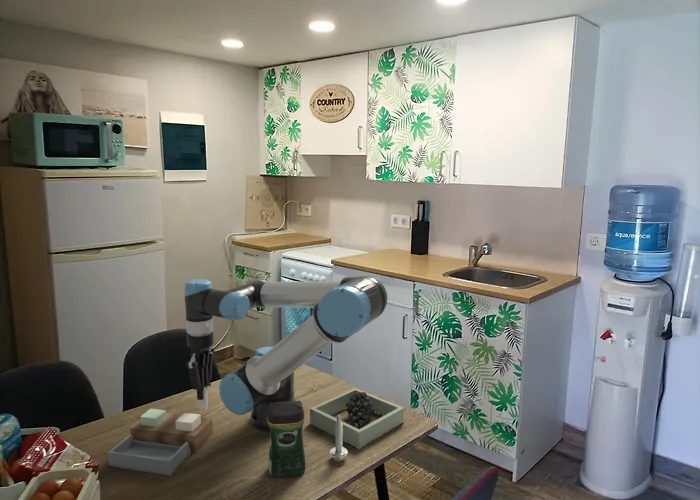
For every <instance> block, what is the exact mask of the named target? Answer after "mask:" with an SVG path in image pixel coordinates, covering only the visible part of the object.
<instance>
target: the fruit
mask: <svg viewBox="0 0 700 500" xmlns="http://www.w3.org/2000/svg"><path fill="white" fill-rule="evenodd" d="M365 392H366V391H364V392H362V393H361V392H357V393H355V396H351V397H350V401H349V402H347V403H346V406H347V407H348V408H346V412H347V424H349V425H351V426H353V427H355V428H357V429H361V428H363V427H365V426H366V425H365V423H367V422H368V420H369V419H370V417H371V415H372V414H374V412H373V409H372V408H371V407H372V403H371V402H369V401H370V399H369V397H366V396H367V395H366V393H367V392H366V393H365ZM357 400H360V402H359V401H357ZM362 426H363V427H362Z"/></svg>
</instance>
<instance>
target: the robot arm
mask: <svg viewBox="0 0 700 500" xmlns="http://www.w3.org/2000/svg"><path fill="white" fill-rule="evenodd" d="M387 305H388V293H387V290H386V287H385V286H384V285H383V283H382V282H381V281H380V280H379V279H377V278H375V277H372V276H369V275H360V276H346V277H342V278H341V279H340V280H327V281H326V280H320V281H318V280H317V281H315V280H311V281H307V280H306V281H267V280H265V279H256V280H251V282H248V283H245V284H242V285H240V286H236V287H233V288H229V289H227V290H220V289H215V288H213V285H212V282H211V281H210V280H209V279H206V278H198V279H197V278H196V279H192V280H191V279H190V280H188V281H187V282H186V283H185V284H184V307H185V327H186V333H187V334H186V346H187V347H188V348H189V349H190V350H191V351H190V352H191V353H190V358H191V359H190V361H186V363H185V365H186V368H187V371H188V375H189V376H188V377H189V380H190V385H191V389H192V390H195V391H196V402H197V403H196V404H197V405H196V406H197V409H198V410H207V409H208V408H209V396H208V387H211V385H212V383H211V381H212V378H213V377H212V374H213V365H214V364H213V363H214V354H215V348H213V347H212V346H213V345H214V332H213V331H214V318H213V317H215V318H222V319H225V320H230V321H233V320H234V321H240V320H241V321H242V320H243V319H244V318H245V316H246V315H247V314H248V313H249V311H250V310H253V309H255V308H297V309H298V308H300V309H301V308H305V309H312V315H311V316H310V317H308V318H307V319H306V320H304V322H302V323H301V324H299V326H297V327H296V328H295V329H294V330H292V331H291V332H290V333H289V334H287V335H286V336H285V337H283V338H282V339H281V340H280V341H279V342H278V343H276V344H275V345H274V346H264V347H262V346H261V347H260V348H257V349H255V351H254V356H252V357H250V358H249V359H248V360H247V361H245V362H244V363H243V364H241V365H240V366H239V367H238V368H237V369H235V370H234V371H231V372H230V373H228V374H226V375H224V377H223V378H222V379H221V381H220V382H219V386H218V389H219V396H220V400H221V401H222V404H224V406H225V407H226V408H227V410H228V411H229V412H231V413H232V414H233V413H234V414H235V415H238V416H244V415H247V413H250V412H251V413H250V425H251V426H252V428H254V429H255V430H257V431H259V432H264V433H270V428H269V426H268V423H267V416H268V409H269V405H270V403H277V402H290V401H297V400H296V397H295V371H297V370H298V369H299V368H301V367H303V365H305V364H306V363H307V362H309V361H310V360H311V359H312V358H314V357H315V356H316V355H317V354H319V353H321V352H322V351H323V350H324V349H326V348H327V347H328V346H330V345H331V344H332V343H335V344H341V343H344V342H345V341H346V340H348V339H349V338H351V337H352V336H353V335H354V334H356V333H358V332H360V330H362V329H363V328H364V327H366V326H367V325H368V324H370V323H372V322H373V321H374V320H376V319H377V318H379V317H380V316H381V315H382V314H383V313H384V312H385V309H386V307H387Z"/></svg>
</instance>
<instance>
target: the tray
mask: <svg viewBox="0 0 700 500" xmlns="http://www.w3.org/2000/svg"><path fill="white" fill-rule="evenodd" d="M191 454H192V452H191V448H190V447H189V442H185V443H184V444H183V445H182V446H175V445H168V444H160V443H153V442H145V441H138V440H132V435H131V434H128V435H127V436H126V437H125V438H123V439H122V440H121V441H120V442H119V443H117V444H115V446H114V447H112V448H111V449H110V450H109V451H108V452H107V462H108V467H109V466H112V467H111V468H116V467H119V468H118V469H122V468H123V469H124V470H131V471H137V472H144V473H151V474H156V475H164V476H170V477H171V476H172V475H173V474H174V473H175V472H176V471H177V469H179V468H180V466H181V465H183V464H184V463H185V461H186V460H187V459H188V458H189V457H190V456H191ZM123 469H122V470H123Z"/></svg>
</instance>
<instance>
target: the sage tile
mask: <svg viewBox="0 0 700 500" xmlns="http://www.w3.org/2000/svg"><path fill="white" fill-rule="evenodd" d="M166 413H167V410H164V409H157V408H149V409H148V410H147V411H145V413H143V414H142V415H140V417H139V418H140V419H141V425H146V426H153V427H157V426H158V425H159V424H161V423H162V422H163V421H164V420H165V419H166ZM140 419H139V420H140Z"/></svg>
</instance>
